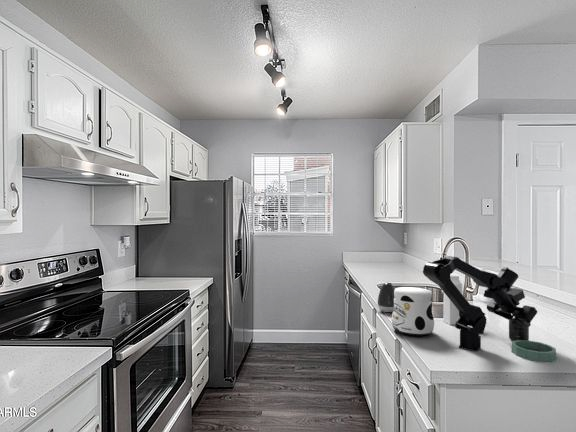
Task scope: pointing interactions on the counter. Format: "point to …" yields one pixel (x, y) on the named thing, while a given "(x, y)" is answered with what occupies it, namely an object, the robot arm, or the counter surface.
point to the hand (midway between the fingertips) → (521, 323)
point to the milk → (451, 304)
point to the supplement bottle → (517, 329)
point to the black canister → (386, 298)
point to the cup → (534, 350)
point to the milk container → (413, 311)
